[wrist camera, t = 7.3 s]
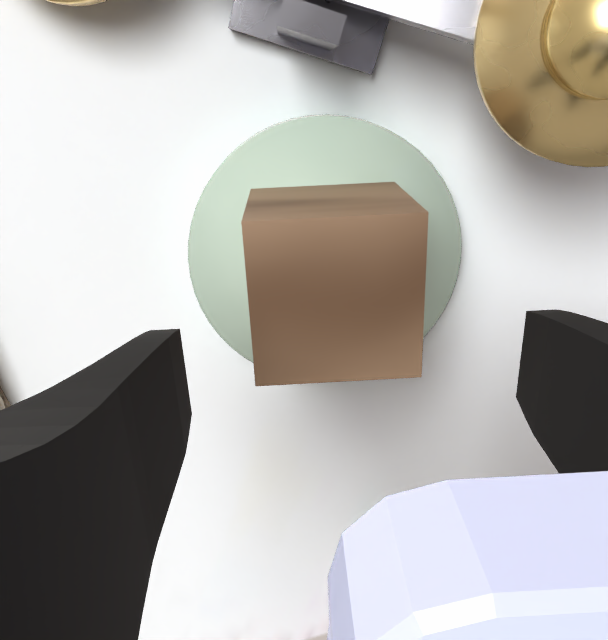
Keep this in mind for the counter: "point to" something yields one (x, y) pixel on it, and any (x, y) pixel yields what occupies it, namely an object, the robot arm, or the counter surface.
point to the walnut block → (335, 282)
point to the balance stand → (314, 29)
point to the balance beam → (505, 72)
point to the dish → (311, 170)
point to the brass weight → (577, 46)
